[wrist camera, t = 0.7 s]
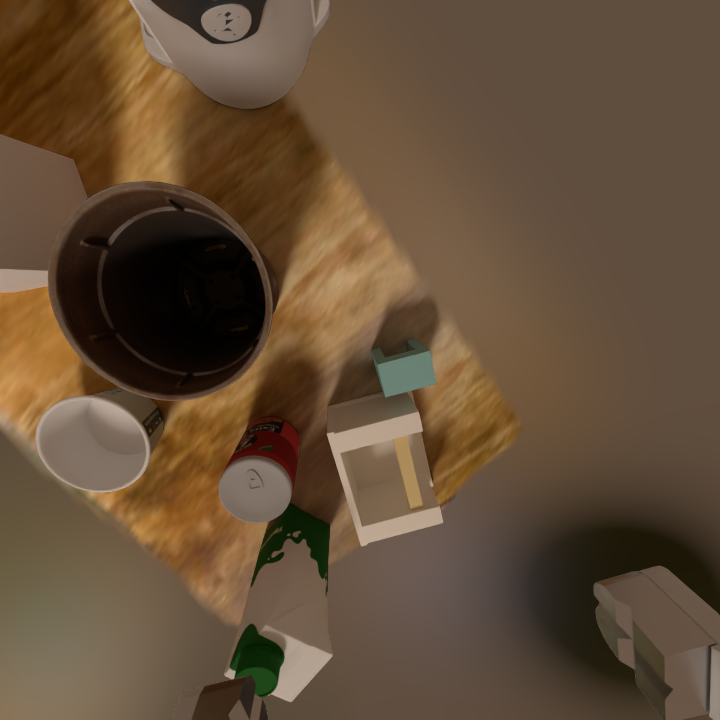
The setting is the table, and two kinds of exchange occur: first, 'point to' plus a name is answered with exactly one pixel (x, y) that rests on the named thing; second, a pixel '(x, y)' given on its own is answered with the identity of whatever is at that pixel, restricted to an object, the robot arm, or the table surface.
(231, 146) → the table surface
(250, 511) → the canned food
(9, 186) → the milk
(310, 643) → the milk carton
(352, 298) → the table surface
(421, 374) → the green slotted block
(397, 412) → the shelf
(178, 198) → the plant pot
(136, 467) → the food container
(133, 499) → the table surface
